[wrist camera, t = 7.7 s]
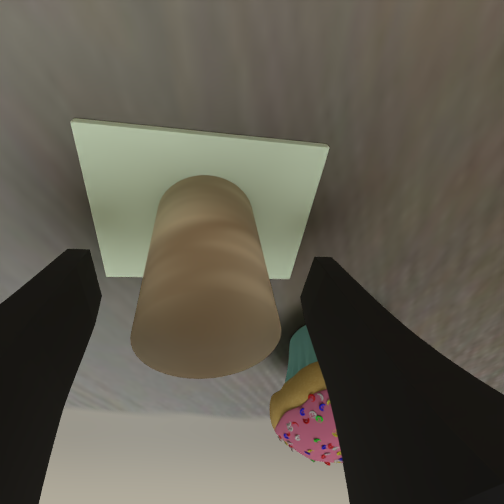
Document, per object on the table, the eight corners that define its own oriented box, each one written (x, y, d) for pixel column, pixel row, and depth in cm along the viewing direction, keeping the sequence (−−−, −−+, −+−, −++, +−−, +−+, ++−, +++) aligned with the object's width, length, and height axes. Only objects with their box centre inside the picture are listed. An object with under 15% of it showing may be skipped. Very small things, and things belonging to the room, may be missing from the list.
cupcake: (404, 328, 21) (559, 580, 12) (312, 381, 24) (376, 607, 15) (334, 276, 17) (493, 612, 7) (233, 349, 20) (258, 641, 11)
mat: (326, 143, 12) (329, 147, 11) (287, 273, 16) (289, 279, 16) (74, 118, 10) (70, 121, 10) (108, 270, 14) (106, 276, 14)
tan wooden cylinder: (259, 178, 12) (296, 290, 7) (246, 256, 14) (267, 375, 10) (154, 171, 11) (120, 290, 6) (159, 253, 13) (138, 382, 9)
